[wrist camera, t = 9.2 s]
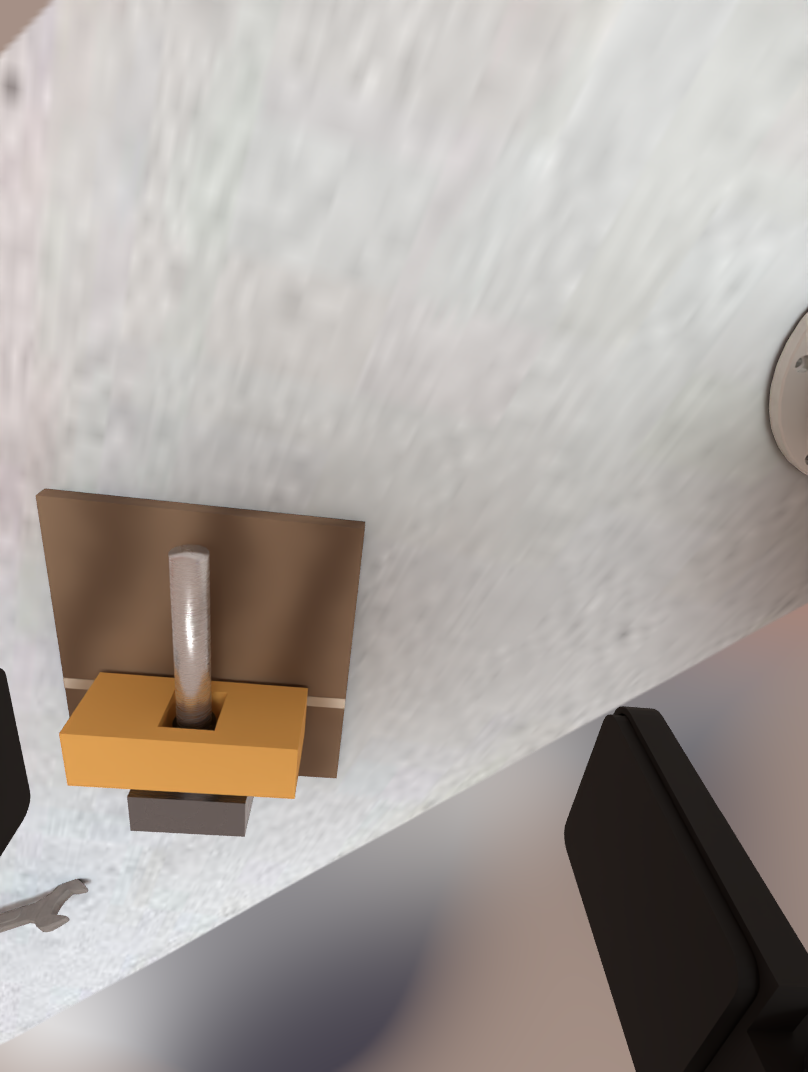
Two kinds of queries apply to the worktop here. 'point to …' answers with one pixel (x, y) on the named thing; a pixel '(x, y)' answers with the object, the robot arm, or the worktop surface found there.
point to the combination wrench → (43, 909)
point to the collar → (185, 739)
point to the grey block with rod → (190, 709)
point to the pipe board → (235, 598)
